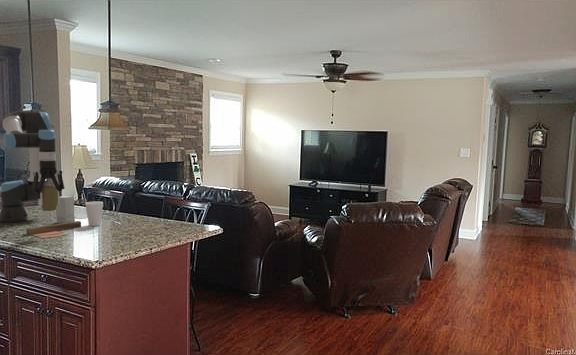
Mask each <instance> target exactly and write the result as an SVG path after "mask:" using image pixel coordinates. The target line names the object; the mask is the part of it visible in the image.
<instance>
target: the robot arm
mask: <svg viewBox="0 0 576 355" xmlns="http://www.w3.org/2000/svg"><path fill="white" fill-rule="evenodd" d="M1 123H2V128H3V130H5V133H4V134H3V144H4V145H3V146H4V148H10V149H21V148H22V149H23V148H24V149H25V148H27V149H28V148H29V149H28V150H29V177H28V178H27V182H25V181H24V180H22V179H20V180H13V181H12V180H11V181H6V182H3V183H1V185H0V198H1V199H0V200H1V201H0V202H1V203H0V204H1V207H0V208H1V209H0V223H6V224H8V223H9V224H10V223H11V224H12V223H21V222H25V221H28V220H29V216H28V213H27V210H26V209H25V203H31V202H34V203H35V202H38V206H41V205H43V204H42V192H41V189H42V187H44V186H43V184H44V183H45V182H46V179H47V178H50V179H51V182H53V183H54V187H55V188H56V194H57V201H58V203H59V197H61V196H62V194H61V193H62V191H63V190H64V189H65V185H64V184H65V183H64V180H63V171H62V170H58V169H57V161H56V158H57V156H56V152H57V151H56V133H55V132H56V131H55V130H53V129H52V128H51V127H52V126H51V125H52V124H51V120H50V116H49V114H48V113H47V112H45V111H33V110H32V111H27V110H26V111H25V110H16V111H13V112H10V113H8V114H7V115H5V116H4V117H3V118H2V121H1ZM56 175H57V177H56Z"/></svg>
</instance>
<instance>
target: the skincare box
mask: <svg viewBox="0 0 576 355" xmlns="http://www.w3.org/2000/svg"><path fill="white" fill-rule="evenodd" d="M74 202H75V200H74V196H71V195H61V197H59V203H58V204H57V207H56V210H55V215H56V224H61V223H68V222H75V221H76V220H75V218H76V217H75V203H74Z"/></svg>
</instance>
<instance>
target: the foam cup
mask: <svg viewBox="0 0 576 355" xmlns="http://www.w3.org/2000/svg"><path fill="white" fill-rule="evenodd" d="M84 204H85V205H84V206H85V210H86V216H87V222H88V226H90V227H99V226H101V225H102V215H103V207H104V202H103V201H87V202H85V203H84Z"/></svg>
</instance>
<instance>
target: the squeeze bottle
mask: <svg viewBox="0 0 576 355" xmlns="http://www.w3.org/2000/svg"><path fill="white" fill-rule="evenodd" d="M43 186H44V187H42V189H41V192H42V204H43V205H40V207H41V209H42V211H45V212H52V211H56V207H57V204H58V201H57V194H56V191H57V189H56V187H55V185H54V183H53V181H52V179H51V178H47V179H46V182H45V183H44V184H43Z"/></svg>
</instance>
